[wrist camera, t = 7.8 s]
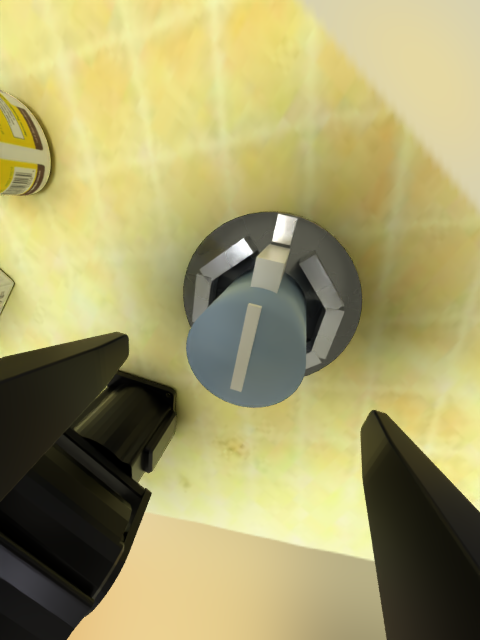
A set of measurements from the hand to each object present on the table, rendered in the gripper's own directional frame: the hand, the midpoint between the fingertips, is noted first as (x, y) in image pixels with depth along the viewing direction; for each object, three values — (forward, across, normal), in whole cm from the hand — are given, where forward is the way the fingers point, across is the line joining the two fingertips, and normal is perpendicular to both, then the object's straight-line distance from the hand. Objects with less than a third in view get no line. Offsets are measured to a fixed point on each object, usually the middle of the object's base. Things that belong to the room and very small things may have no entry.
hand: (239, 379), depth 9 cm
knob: (+7, 0, 0) cm, 7 cm away
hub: (+8, 0, 0) cm, 8 cm away
